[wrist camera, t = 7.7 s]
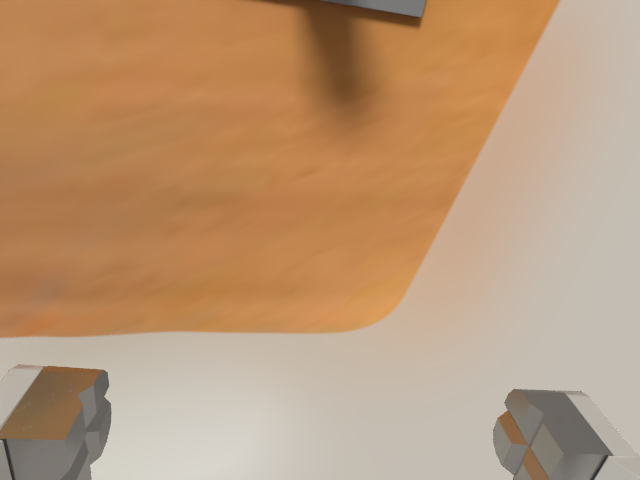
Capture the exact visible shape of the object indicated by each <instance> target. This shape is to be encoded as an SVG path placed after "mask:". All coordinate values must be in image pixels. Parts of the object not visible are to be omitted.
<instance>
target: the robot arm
mask: <svg viewBox="0 0 640 480" xmlns="http://www.w3.org/2000/svg"><path fill="white" fill-rule="evenodd" d="M108 387H109V381H108V374H107V372H106V371H105V370H98V369H83V368H70V367H56V366H47V367H45V366H32V365H20V364H19V365H17V366H15V367H13V368H12V369H10V370H9V371H8V373H7V374H6V375H5V376H4V378H3V379H2V380H1V381H0V480H91V470H90V464H92V463H93V462H94V461H95V460H97V459H98V458H99V457H100V456H101V454H102V452H103V449H104V447H105V444H106V442H107V438H108V433H109V429H110V424H111V403H110V402H109V401H108V400H106V398H105V397H104V396H105V394H106V391H107V389H108ZM504 403H505V405H506V408H507V410H508V411H507V412H505V413H504V414H503V415H501V416H500V417H499V418H498V419H497V421H496V424H495V427H494V429H493V438H494V439H493V442H494V447H495V451H496V454H497V456H498V458H499V460H500V462H501V465H502V466H503V467H505V468H506V469H507V470H508V471H510V472H511V473H512V474H513V475H514V477H513V480H640V457H639V455H638V454H637V453H636V452H635V451H634V449H633V448H632V447H631V446H630V445H629V444H628V442H627V441H626V440H625V439H624V438H623V436H622V435H621V434H620V433H619V432H618V430H617V429H616V428H615V427H614V426H613V424H612V423H611V422H610V421H609V420H608V418H607V417H606V416H605V415H604V414H603V413H602V411H601V410H600V409H599V408H598V407H597V405H596V404H595V403H594V402H593V401H592V399H591V398H590V397H589V396H588V395H586V394H584V393H583V392H581V391H547V390H521V389H514V390H512V391H511V392H510V393H509V394H508V396H507V398H506V400H505V402H504Z"/></svg>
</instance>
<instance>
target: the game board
mask: <svg viewBox="0 0 640 480" xmlns="http://www.w3.org/2000/svg"><path fill="white" fill-rule="evenodd" d="M319 1H325V2H330V3H336V4H342V5H348V6H354V7H360V8H365V9H371V10H377V11H383V12H389V13H395V14H400V15H406V16H412V17H422V14H423V10H424V5H425V1H426V0H319Z"/></svg>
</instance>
